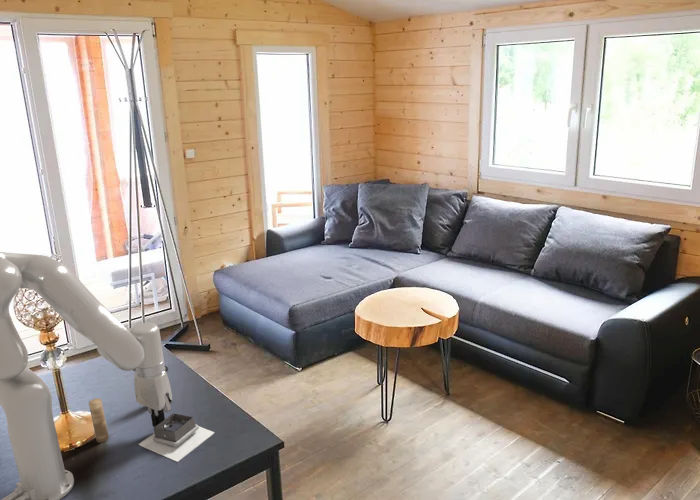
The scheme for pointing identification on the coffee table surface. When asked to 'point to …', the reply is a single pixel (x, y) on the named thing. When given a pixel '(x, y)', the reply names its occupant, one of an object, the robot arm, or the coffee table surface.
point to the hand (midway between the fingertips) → (159, 424)
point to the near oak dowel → (98, 420)
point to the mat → (180, 450)
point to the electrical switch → (175, 429)
